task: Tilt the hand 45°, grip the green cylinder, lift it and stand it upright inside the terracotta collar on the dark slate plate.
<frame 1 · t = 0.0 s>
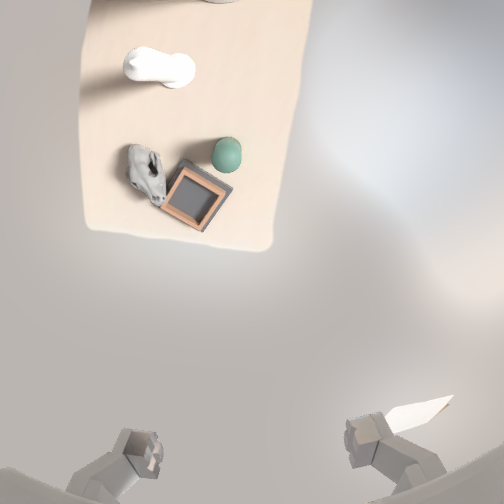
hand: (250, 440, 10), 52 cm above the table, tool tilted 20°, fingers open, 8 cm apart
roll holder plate: (193, 195, 59), on the table
candle: (177, 70, 45), on the table
green cylinder: (228, 149, 54), on the table
skull: (150, 169, 56), on the table
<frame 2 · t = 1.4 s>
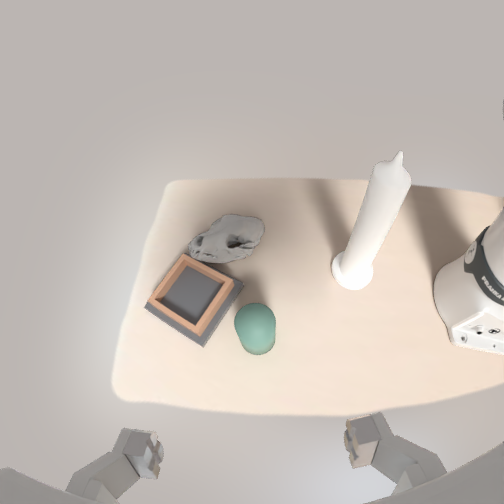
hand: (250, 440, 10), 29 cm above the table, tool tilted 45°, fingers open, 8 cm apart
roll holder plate: (193, 298, 46), on the table
candle: (351, 271, 47), on the table
green cylinder: (258, 338, 42), on the table
skull: (230, 249, 50), on the table
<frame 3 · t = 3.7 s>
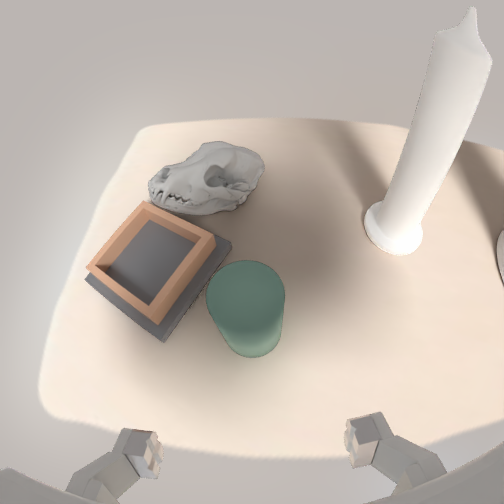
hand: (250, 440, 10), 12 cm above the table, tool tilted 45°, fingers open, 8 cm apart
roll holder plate: (155, 266, 29), on the table
candle: (392, 229, 30), on the table
green cylinder: (252, 330, 25), on the table
skull: (214, 198, 34), on the table
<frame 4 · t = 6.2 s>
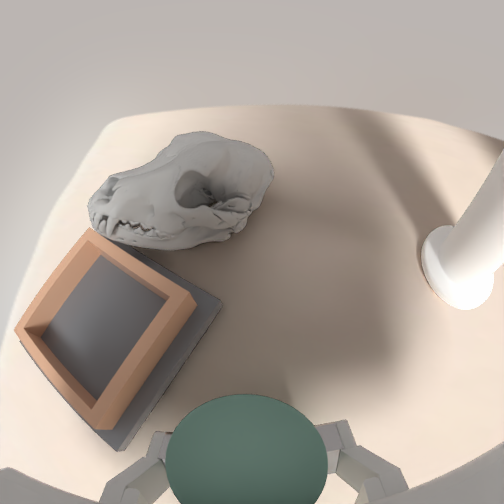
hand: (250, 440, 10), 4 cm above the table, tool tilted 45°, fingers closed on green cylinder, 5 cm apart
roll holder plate: (107, 331, 18), on the table
candle: (456, 268, 19), on the table
green cylinder: (256, 443, 14), on the table, touching gripper
skull: (196, 220, 22), on the table
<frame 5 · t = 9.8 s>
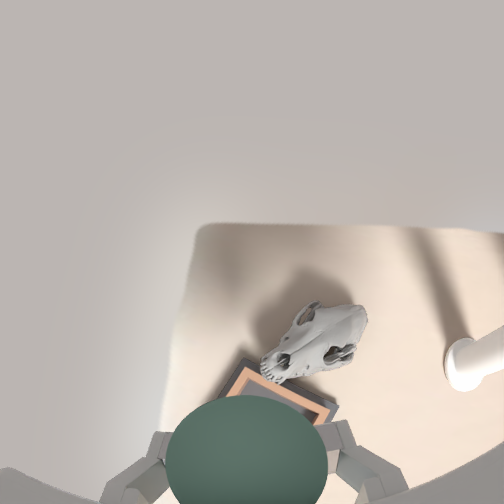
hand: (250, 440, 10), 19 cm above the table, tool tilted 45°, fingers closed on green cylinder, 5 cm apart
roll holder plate: (263, 428, 27), on the table
candle: (463, 365, 28), on the table
green cylinder: (256, 444, 14), point 15 cm above the table, touching gripper
skull: (312, 347, 31), on the table
when the fingers open (7 cm above the table, at t = 13.2 s): green cylinder drops 1 cm, resting on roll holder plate.
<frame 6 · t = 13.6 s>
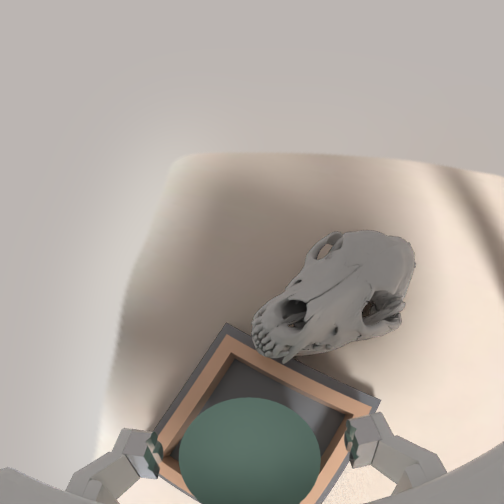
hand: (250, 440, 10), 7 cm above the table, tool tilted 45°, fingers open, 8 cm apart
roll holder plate: (257, 440, 16), on the table
green cylinder: (258, 441, 15), point 1 cm above the table, touching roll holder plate
skull: (334, 309, 21), on the table
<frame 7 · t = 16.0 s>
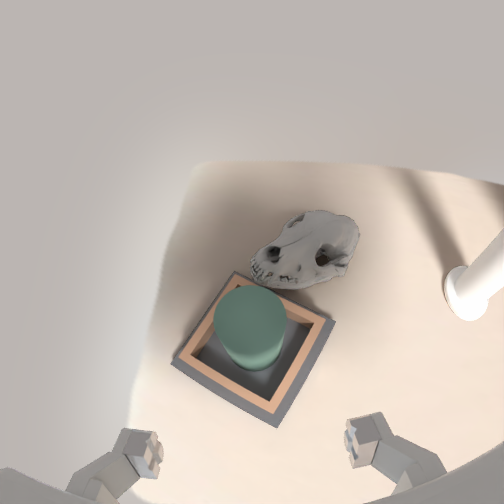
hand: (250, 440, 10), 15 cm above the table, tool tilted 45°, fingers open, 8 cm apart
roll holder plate: (254, 347, 27), on the table
candle: (464, 294, 28), on the table
green cylinder: (254, 345, 26), point 1 cm above the table, touching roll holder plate
skull: (305, 265, 32), on the table
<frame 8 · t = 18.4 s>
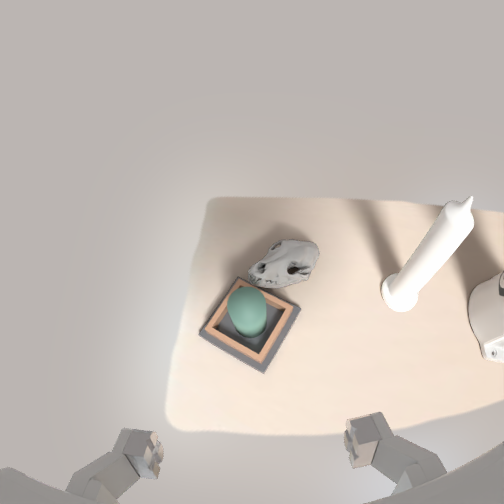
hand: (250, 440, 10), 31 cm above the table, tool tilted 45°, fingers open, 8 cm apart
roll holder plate: (250, 324, 45), on the table
candle: (398, 293, 46), on the table
green cylinder: (250, 322, 44), point 1 cm above the table, touching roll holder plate
skull: (283, 272, 50), on the table
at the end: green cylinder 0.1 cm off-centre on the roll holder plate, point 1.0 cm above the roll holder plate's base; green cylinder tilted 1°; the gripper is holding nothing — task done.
